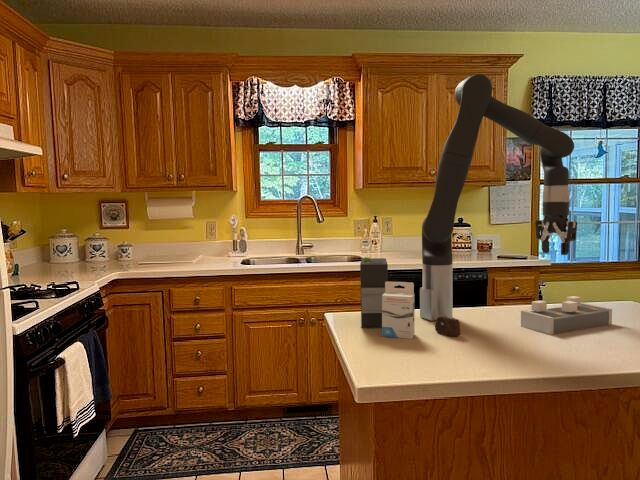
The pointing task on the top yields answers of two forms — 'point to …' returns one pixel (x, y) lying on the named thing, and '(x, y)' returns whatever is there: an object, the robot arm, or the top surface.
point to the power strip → (566, 319)
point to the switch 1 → (539, 306)
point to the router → (372, 290)
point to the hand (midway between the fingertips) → (555, 253)
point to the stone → (448, 326)
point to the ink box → (398, 310)
